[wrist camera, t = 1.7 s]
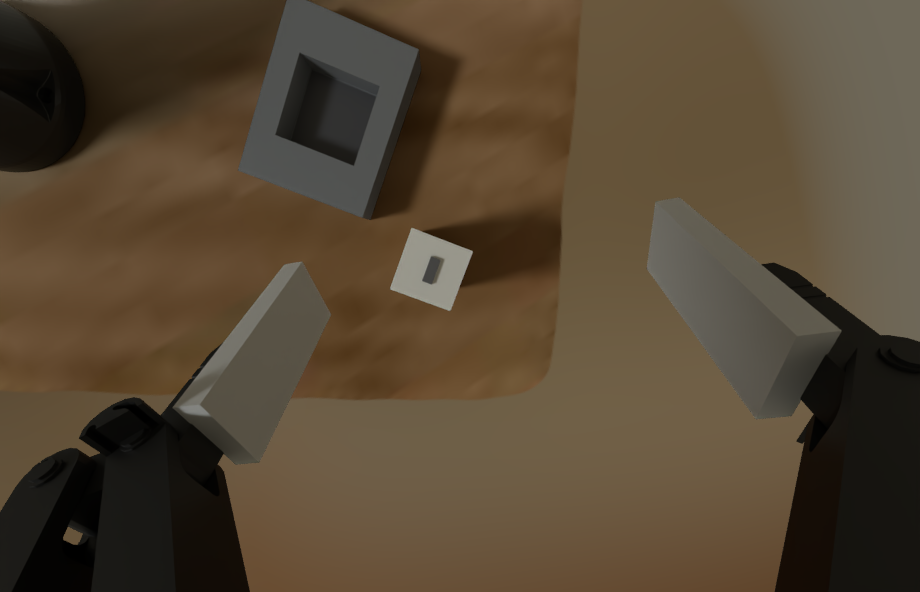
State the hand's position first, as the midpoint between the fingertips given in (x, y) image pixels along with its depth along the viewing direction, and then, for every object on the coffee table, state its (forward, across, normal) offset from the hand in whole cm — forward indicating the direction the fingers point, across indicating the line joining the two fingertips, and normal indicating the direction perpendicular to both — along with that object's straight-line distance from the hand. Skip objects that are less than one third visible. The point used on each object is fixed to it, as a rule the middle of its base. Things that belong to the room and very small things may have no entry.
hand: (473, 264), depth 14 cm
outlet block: (+28, -14, +2) cm, 31 cm away
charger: (+22, -6, -12) cm, 26 cm away
